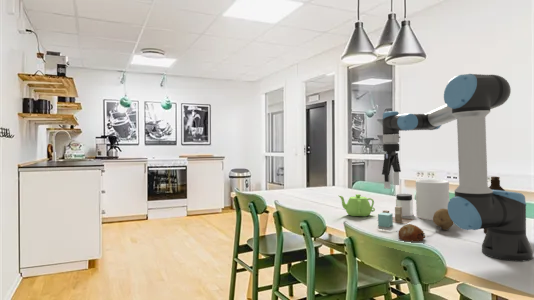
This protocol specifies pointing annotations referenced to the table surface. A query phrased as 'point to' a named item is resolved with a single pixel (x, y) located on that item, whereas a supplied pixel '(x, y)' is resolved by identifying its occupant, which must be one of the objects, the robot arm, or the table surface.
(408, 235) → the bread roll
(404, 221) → the board
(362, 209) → the teapot
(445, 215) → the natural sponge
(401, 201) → the jar
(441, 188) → the canister
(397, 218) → the post
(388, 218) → the teal block
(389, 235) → the table surface
